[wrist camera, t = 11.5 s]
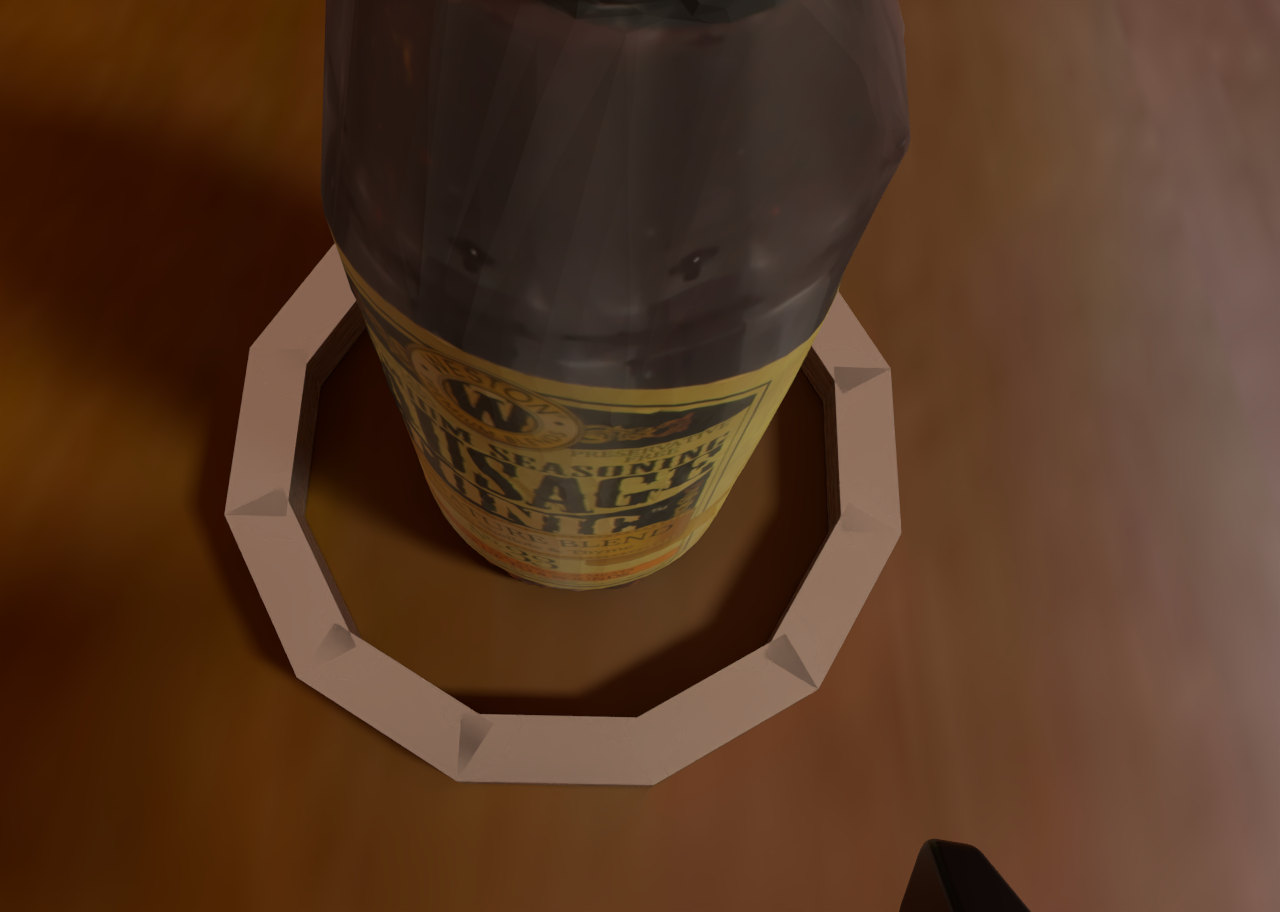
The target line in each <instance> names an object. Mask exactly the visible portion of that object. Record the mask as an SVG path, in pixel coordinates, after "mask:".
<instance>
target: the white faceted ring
mask: <svg viewBox="0 0 1280 912" xmlns="http://www.w3.org/2000/svg"><path fill="white" fill-rule="evenodd" d="M366 327H367V326H366V322H365V319H364V316H363V314H362V311H361V309H360V307H359V305H358V303H357V301H356V299H355V297H354V295H353V293H352V291H351V288H350V285H349V282H348V279H347V276H346V273H345V270H344V267H343V264H342V261H341V258H340V255H339V253H338V250H337V247H336V245H335V243H334V245H333V246H332V247H331V248H330V250H329V251H328V252H327V253H326V255H325V256H324V257H323V258H322V259H321V261H320V262H319V263H318V264H317V266H316V267H315V268H314V269H313V271H312V272H311V273H310V274H309V276H308V277H307V278H306V279H305V280H304V282H303V283H302V284H301V285H300V287H299V288H298V289H297V290H296V292H295V293H294V294H293V295H292V296H291V298H290V299H289V300H288V301H287V303H286V304H285V305H284V306H283V308H282V309H281V310H280V311H279V313H278V314H277V315H276V316H275V317H274V319H273V320H272V321H271V322H270V324H269V325H268V326H267V327H266V329H265V330H264V331H263V332H262V333H261V335H260V336H259V337H258V338H257V340H256V341H255V342H254V343H253V345H252V346H251V347H250V350H249V357H248V364H247V370H246V377H245V383H244V390H243V396H242V403H241V409H240V416H239V422H238V429H237V435H236V442H235V448H234V455H233V461H232V468H231V474H230V481H229V487H228V494H227V501H226V507H225V514H224V515H225V517H226V519H227V522H228V524H229V526H230V528H231V531H232V533H233V535H234V537H235V540H236V542H237V544H238V546H239V549H240V551H241V553H242V555H243V558H244V560H245V562H246V564H247V566H248V569H249V571H250V573H251V575H252V578H253V580H254V582H255V584H256V587H257V589H258V591H259V593H260V596H261V598H262V600H263V602H264V605H265V607H266V609H267V611H268V614H269V616H270V618H271V620H272V623H273V625H274V627H275V629H276V632H277V634H278V636H279V638H280V641H281V643H282V645H283V647H284V650H285V652H286V654H287V656H288V659H289V661H290V663H291V665H292V667H293V670H294V672H295V674H296V676H297V678H299V679H300V680H302V681H303V682H305V683H306V684H308V685H309V686H311V687H312V688H314V689H315V690H317V691H319V692H320V693H322V694H323V695H325V696H326V697H328V698H329V699H331V700H332V701H334V702H336V703H337V704H339V705H340V706H342V707H343V708H345V709H346V710H348V711H349V712H351V713H352V714H354V715H356V716H357V717H359V718H360V719H362V720H363V721H365V722H366V723H368V724H369V725H371V726H372V727H374V728H376V729H377V730H379V731H380V732H382V733H383V734H385V735H386V736H388V737H389V738H391V739H393V740H394V741H396V742H397V743H399V744H400V745H402V746H403V747H405V748H406V749H408V750H409V751H411V752H413V753H414V754H416V755H417V756H419V757H420V758H422V759H423V760H425V761H426V762H428V763H429V764H431V765H433V766H434V767H436V768H437V769H439V770H440V771H442V772H443V773H445V774H446V775H448V776H450V777H451V778H453V779H454V780H456V781H458V782H462V783H482V784H533V785H584V786H634V787H651V786H653V785H654V784H656V783H658V782H660V781H661V780H663V779H665V778H666V777H668V776H670V775H672V774H673V773H675V772H677V771H679V770H680V769H682V768H684V767H685V766H687V765H689V764H691V763H692V762H694V761H696V760H697V759H699V758H701V757H703V756H704V755H706V754H708V753H709V752H711V751H713V750H715V749H716V748H718V747H720V746H722V745H723V744H725V743H727V742H728V741H730V740H732V739H734V738H735V737H737V736H739V735H740V734H742V733H744V732H746V731H747V730H749V729H751V728H752V727H754V726H756V725H758V724H759V723H761V722H763V721H764V720H766V719H768V718H770V717H771V716H773V715H775V714H777V713H778V712H780V711H782V710H783V709H785V708H787V707H789V706H790V705H792V704H794V703H795V702H797V701H799V700H801V699H802V698H804V697H806V696H808V695H809V694H811V693H813V692H815V691H816V690H818V689H819V687H820V685H821V683H822V681H823V679H824V677H825V676H826V674H827V672H828V670H829V668H830V666H831V664H832V662H833V661H834V659H835V657H836V655H837V653H838V651H839V649H840V647H841V646H842V644H843V642H844V640H845V638H846V636H847V634H848V632H849V631H850V629H851V627H852V625H853V623H854V621H855V619H856V617H857V616H858V614H859V612H860V610H861V608H862V606H863V604H864V602H865V600H866V599H867V597H868V595H869V593H870V591H871V589H872V587H873V585H874V584H875V582H876V580H877V578H878V576H879V574H880V572H881V570H882V569H883V567H884V565H885V563H886V561H887V559H888V557H889V555H890V554H891V552H892V550H893V548H894V546H895V544H896V542H897V540H898V539H899V537H900V535H901V520H900V505H899V490H898V475H897V460H896V445H895V430H894V414H893V399H892V384H891V369H890V367H889V366H888V364H887V363H886V361H885V360H884V358H883V357H882V355H881V354H880V352H879V351H878V349H877V348H876V347H875V345H874V344H873V342H872V341H871V339H870V338H869V336H868V335H867V333H866V332H865V330H864V329H863V327H862V326H861V324H860V323H859V321H858V320H857V318H856V317H855V315H854V314H853V313H852V311H851V310H850V308H849V307H848V305H847V304H846V302H845V301H844V299H843V298H842V296H841V295H840V293H839V292H838V293H837V295H836V297H835V299H834V301H833V303H832V306H831V308H830V310H829V312H828V314H827V316H826V318H825V320H824V322H823V324H822V326H821V328H820V330H819V332H818V334H817V336H816V338H815V340H814V342H813V344H812V346H811V348H810V350H809V351H808V353H807V355H806V357H805V359H804V361H803V363H802V365H801V369H802V371H803V372H804V374H805V375H806V377H807V378H808V380H809V381H810V383H811V384H812V386H813V388H814V389H815V391H816V392H817V394H818V395H819V397H820V398H821V400H822V401H823V413H824V436H825V460H826V483H827V507H828V530H829V532H828V533H827V535H826V537H825V539H824V541H823V542H822V544H821V546H820V548H819V549H818V551H817V553H816V555H815V557H814V558H813V560H812V562H811V564H810V566H809V567H808V569H807V571H806V573H805V575H804V576H803V578H802V580H801V582H800V583H799V585H798V587H797V589H796V591H795V592H794V594H793V596H792V598H791V600H790V601H789V603H788V605H787V607H786V609H785V610H784V612H783V614H782V616H781V617H780V619H779V621H778V623H777V625H776V626H775V628H774V630H773V632H772V634H771V635H770V637H769V639H768V641H767V643H766V644H765V646H763V647H761V648H759V649H757V650H756V651H754V652H752V653H750V654H749V655H747V656H745V657H743V658H742V659H740V660H738V661H736V662H734V663H733V664H731V665H729V666H727V667H726V668H724V669H722V670H720V671H719V672H717V673H715V674H713V675H711V676H710V677H708V678H706V679H704V680H703V681H701V682H699V683H697V684H696V685H694V686H692V687H690V688H688V689H687V690H685V691H683V692H681V693H680V694H678V695H676V696H674V697H673V698H671V699H669V700H667V701H665V702H664V703H662V704H660V705H658V706H657V707H655V708H653V709H651V710H650V711H648V712H646V713H644V714H643V715H641V716H639V717H637V718H635V717H589V716H543V715H497V714H478V713H476V712H475V711H473V710H472V709H470V708H469V707H467V706H465V705H464V704H462V703H461V702H459V701H458V700H456V699H454V698H453V697H451V696H450V695H448V694H447V693H445V692H443V691H442V690H440V689H439V688H437V687H436V686H434V685H432V684H431V683H429V682H428V681H426V680H425V679H423V678H421V677H420V676H418V675H417V674H415V673H414V672H412V671H410V670H409V669H407V668H406V667H404V666H403V665H401V664H399V663H398V662H396V661H395V660H393V659H392V658H390V657H388V656H387V655H385V654H384V653H382V652H381V651H379V650H377V649H376V648H374V647H373V646H371V645H370V644H368V643H366V642H365V641H363V640H362V639H361V637H360V635H359V633H358V630H357V628H356V626H355V624H354V622H353V620H352V618H351V616H350V613H349V611H348V609H347V607H346V605H345V603H344V601H343V598H342V596H341V594H340V592H339V590H338V588H337V586H336V584H335V581H334V579H333V577H332V575H331V573H330V571H329V569H328V567H327V564H326V562H325V560H324V558H323V556H322V554H321V552H320V549H319V547H318V545H317V543H316V541H315V539H314V537H313V535H312V532H311V530H310V528H309V526H308V524H307V522H306V520H305V517H304V515H305V507H306V499H307V492H308V484H309V476H310V468H311V460H312V452H313V444H314V436H315V429H316V421H317V413H318V405H319V397H320V389H321V386H322V384H323V383H324V382H325V380H326V379H327V378H328V377H329V375H330V374H331V373H332V371H333V370H334V369H335V368H336V366H337V365H338V364H339V362H340V361H341V360H342V358H343V357H344V356H345V355H346V353H347V352H348V351H349V349H350V348H351V347H352V346H353V344H354V343H355V342H356V340H357V339H358V338H359V336H360V335H361V334H362V333H363V331H364V330H365V329H366Z"/></svg>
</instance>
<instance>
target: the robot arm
mask: <svg viewBox="0 0 1280 912" xmlns="http://www.w3.org/2000/svg"><path fill="white" fill-rule="evenodd" d="M899 912H1031V911H1030V910H1029V909H1028V908H1027V906H1026V905H1025V904H1024V903H1023V902H1022V900H1021V899H1020V898H1019V897H1018V896H1017V894H1016V893H1015V892H1014V891H1013V890H1012V888H1011V887H1010V886H1009V885H1008V883H1007V882H1006V881H1005V880H1004V879H1003V877H1002V876H1001V875H1000V874H999V873H998V871H997V870H996V869H995V868H994V866H993V865H992V864H991V863H990V862H989V860H988V859H987V858H986V857H985V856H984V854H983V853H982V852H981V851H980V850H978V849H977V848H976V847H974V846H972V845H969V844H964V843H958V842H952V841H946V840H940V839H930V840H928V841H926V842H925V843H924V845H923V846H922V847H921V849H920V852H919V854H918V857H917V860H916V863H915V866H914V869H913V872H912V874H911V877H910V880H909V883H908V886H907V889H906V892H905V895H904V897H903V900H902V903H901V907H900V911H899Z"/></svg>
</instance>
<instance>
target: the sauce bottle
mask: <svg viewBox="0 0 1280 912" xmlns="http://www.w3.org/2000/svg"><path fill="white" fill-rule="evenodd" d="M904 32H905V26H904V22H903V19H902V15H901V11H900V7H899V2H898V0H326V21H325V56H324V91H323V128H322V166H321V197H322V204H323V210H324V215H325V218H326V220H327V223H328V226H329V228H330V231H331V234H332V236H333V239H334V242H335V245H336V247H337V250H338V253H339V255H340V258H341V261H342V264H343V267H344V270H345V273H346V276H347V279H348V282H349V285H350V288H351V291H352V293H353V295H354V297H355V299H356V301H357V303H358V305H359V307H360V309H361V311H362V314H363V316H364V319H365V322H366V326H367V331H368V334H369V336H370V338H371V339H372V344H373V347H374V348H375V350H376V352H377V354H378V356H379V358H380V361H381V364H382V370H383V372H384V374H385V376H386V378H387V385H388V386H389V388H390V391H391V393H392V394H393V396H394V398H395V400H396V405H397V407H398V409H399V411H400V412H401V414H402V417H403V420H404V422H405V425H406V427H407V430H408V432H409V435H410V438H411V440H412V443H413V445H414V448H415V450H416V453H417V456H418V458H419V461H420V464H421V466H422V469H423V471H424V475H425V479H426V481H427V483H428V485H429V487H430V490H431V492H432V494H433V496H434V498H435V500H436V502H437V503H438V505H439V507H440V509H441V511H442V512H443V514H444V516H445V517H446V519H447V520H448V521H449V523H450V524H451V525H452V527H453V528H454V529H455V530H456V531H457V533H458V534H459V535H460V536H461V537H462V538H463V539H464V540H465V541H466V543H468V544H469V545H470V546H471V547H472V548H473V549H475V550H476V551H477V552H478V553H479V554H481V555H482V556H484V557H485V558H486V559H487V561H488V562H489V563H490V564H494V565H496V566H498V567H500V568H502V569H504V570H505V571H507V572H508V573H509V575H510V576H512V577H514V578H516V579H519V580H520V581H522V582H524V583H526V584H530V585H538V586H540V587H542V588H545V587H549V588H554V589H570V590H572V591H586V590H597V589H617V588H622V587H627V586H631V585H634V584H636V583H637V582H638V581H641V580H642V579H643V578H644V577H645V576H648V575H650V574H651V573H653V572H655V571H657V570H659V569H661V568H663V567H665V566H667V565H668V564H670V563H671V562H673V561H674V560H676V559H678V558H679V557H681V556H682V555H683V554H684V553H685V552H686V551H687V550H688V549H690V548H691V547H692V546H693V545H694V544H695V543H696V542H697V541H698V540H699V538H700V537H701V536H702V535H703V533H704V532H705V531H706V530H707V528H708V527H709V525H710V524H711V522H712V521H713V519H714V518H715V516H716V515H717V513H718V511H719V510H720V508H721V506H722V504H723V503H724V501H725V499H726V497H727V495H728V494H729V492H730V490H731V488H732V486H733V484H734V482H735V480H736V479H737V477H738V476H739V474H740V473H741V471H742V470H743V468H744V466H745V465H746V463H747V461H748V460H749V458H750V456H751V455H752V453H753V451H754V449H755V448H756V446H757V444H758V442H759V441H760V439H761V437H762V436H763V434H764V432H765V430H766V429H767V427H768V425H769V423H770V421H771V420H772V418H773V416H774V414H775V413H776V411H777V409H778V407H779V405H780V404H781V402H782V400H783V398H784V397H785V395H786V393H787V391H788V389H789V388H790V386H791V384H792V382H793V380H794V378H795V377H796V375H797V373H798V371H799V369H800V367H801V365H802V363H803V361H804V359H805V357H806V355H807V353H808V351H809V350H810V348H811V346H812V344H813V342H814V340H815V338H816V336H817V334H818V332H819V330H820V328H821V326H822V324H823V322H824V320H825V318H826V316H827V314H828V312H829V310H830V308H831V306H832V303H833V301H834V299H835V297H836V295H837V293H838V290H839V287H840V283H841V280H842V276H843V272H844V270H845V268H846V266H847V264H848V262H849V260H850V258H851V256H852V254H853V252H854V250H855V248H856V246H857V244H858V242H859V240H860V238H861V236H862V234H863V232H864V230H865V228H866V226H867V224H868V222H869V220H870V218H871V216H872V214H873V212H874V210H875V208H876V206H877V204H878V202H879V201H880V199H881V197H882V195H883V193H884V191H885V190H886V188H887V186H888V184H889V182H890V180H891V179H892V177H893V175H894V173H895V171H896V170H897V168H898V166H899V164H900V162H901V160H902V159H903V157H904V155H905V153H906V151H907V150H908V146H909V142H910V127H909V114H908V99H907V85H906V52H905V44H904Z"/></svg>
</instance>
